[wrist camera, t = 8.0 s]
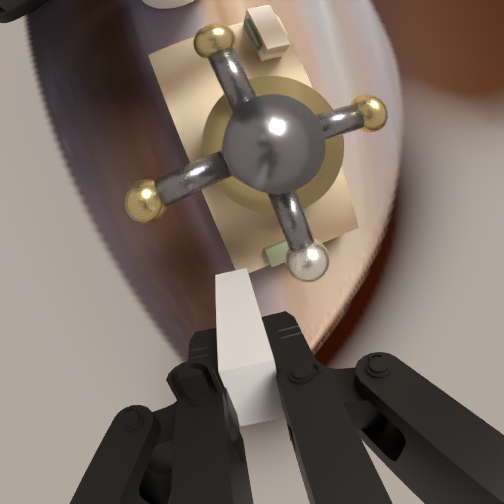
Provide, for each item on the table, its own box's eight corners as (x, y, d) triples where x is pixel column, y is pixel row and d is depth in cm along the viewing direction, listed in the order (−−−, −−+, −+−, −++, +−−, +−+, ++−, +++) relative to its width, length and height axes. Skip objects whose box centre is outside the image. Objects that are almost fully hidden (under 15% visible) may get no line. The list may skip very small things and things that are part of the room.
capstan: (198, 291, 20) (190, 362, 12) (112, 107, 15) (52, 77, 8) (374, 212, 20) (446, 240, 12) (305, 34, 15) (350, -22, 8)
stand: (154, 65, 17) (140, 42, 13) (271, 28, 17) (284, 0, 13) (236, 265, 23) (241, 291, 18) (345, 221, 23) (373, 235, 18)
